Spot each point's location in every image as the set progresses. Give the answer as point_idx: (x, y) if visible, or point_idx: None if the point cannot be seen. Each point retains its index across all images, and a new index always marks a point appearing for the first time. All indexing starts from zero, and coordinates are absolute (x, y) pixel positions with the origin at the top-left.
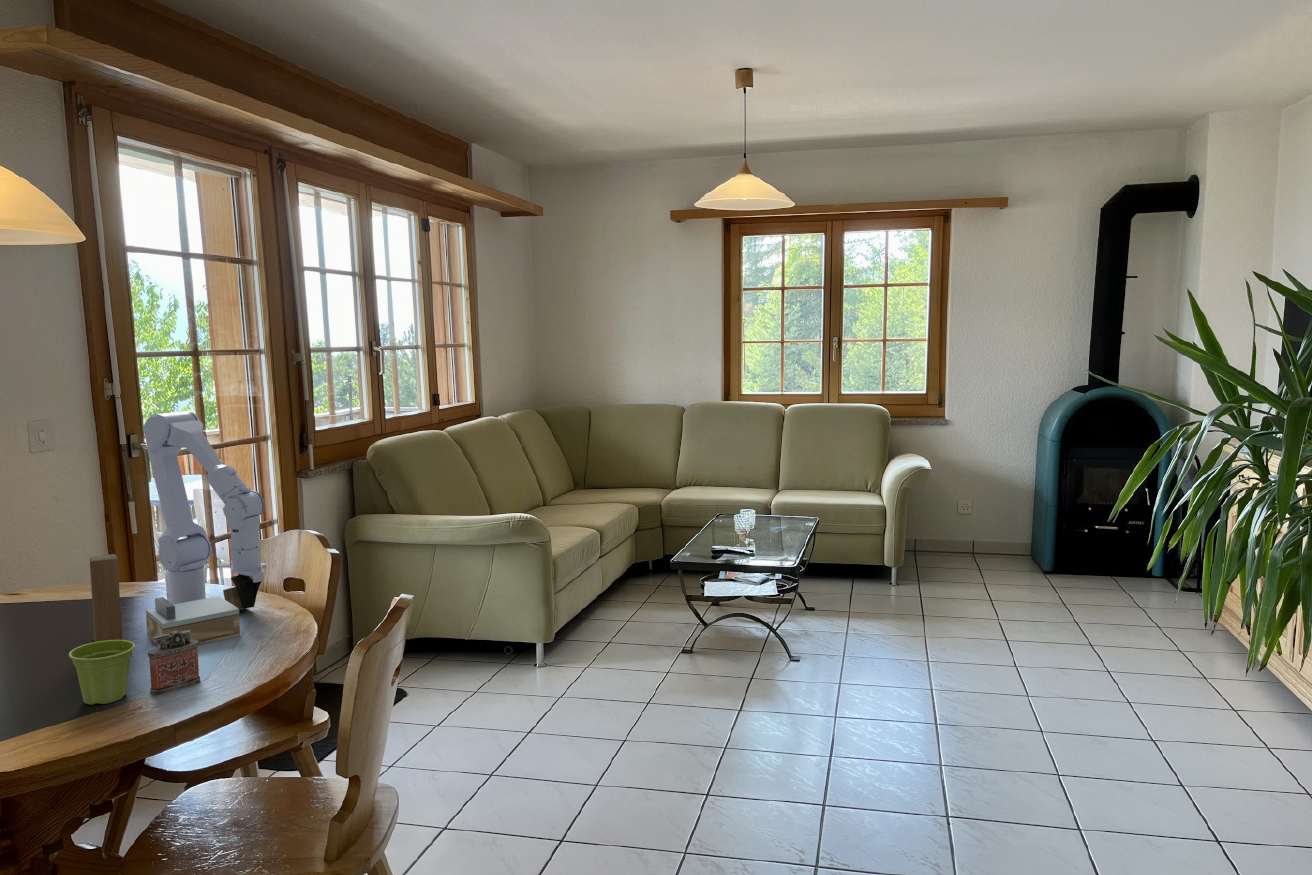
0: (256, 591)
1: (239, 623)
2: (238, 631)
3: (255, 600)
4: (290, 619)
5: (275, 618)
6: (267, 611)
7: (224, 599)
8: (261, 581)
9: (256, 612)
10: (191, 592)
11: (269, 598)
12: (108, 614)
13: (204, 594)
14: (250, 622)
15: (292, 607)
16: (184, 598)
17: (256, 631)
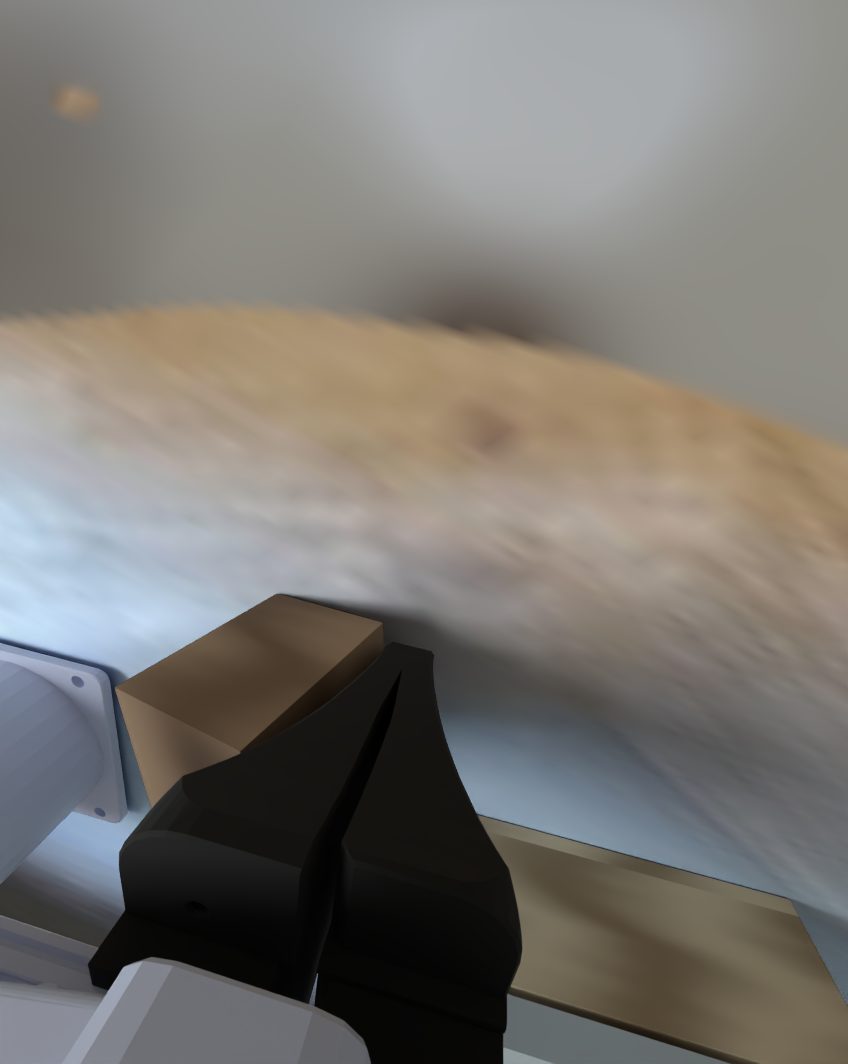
0: (444, 749)
1: (843, 1002)
2: (803, 938)
3: (431, 676)
4: (844, 569)
5: (695, 616)
6: (479, 552)
7: (548, 1062)
8: (495, 852)
9: (436, 607)
10: (21, 839)
11: (162, 350)
12: None
13: (8, 724)
14: (608, 742)
15: (555, 362)
16: (51, 828)
17: (818, 824)
